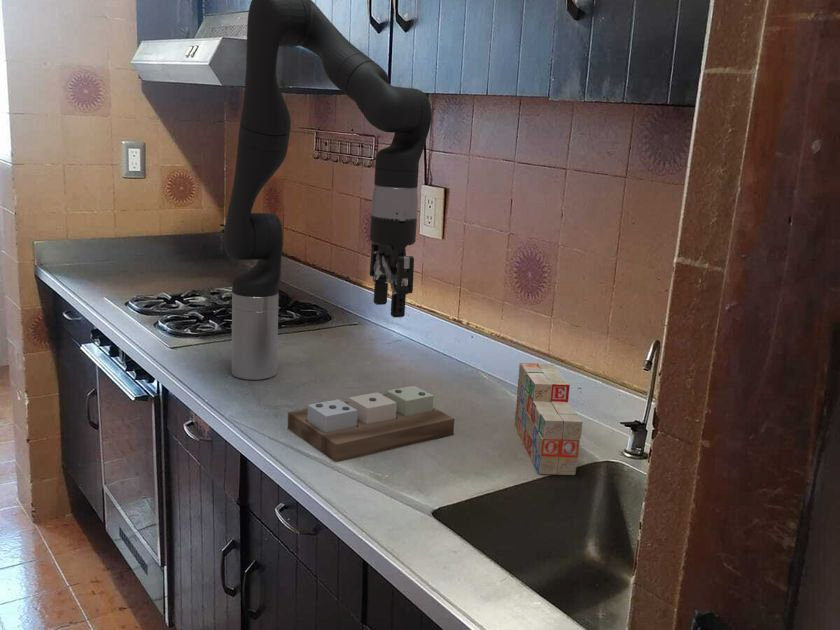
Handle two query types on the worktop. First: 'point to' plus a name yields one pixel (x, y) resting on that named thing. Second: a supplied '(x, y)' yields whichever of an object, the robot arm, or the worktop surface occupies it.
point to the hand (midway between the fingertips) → (388, 310)
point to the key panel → (372, 433)
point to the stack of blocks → (547, 419)
